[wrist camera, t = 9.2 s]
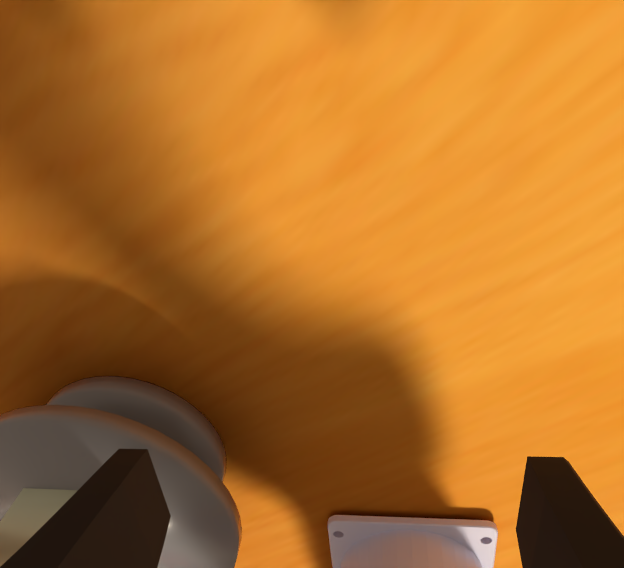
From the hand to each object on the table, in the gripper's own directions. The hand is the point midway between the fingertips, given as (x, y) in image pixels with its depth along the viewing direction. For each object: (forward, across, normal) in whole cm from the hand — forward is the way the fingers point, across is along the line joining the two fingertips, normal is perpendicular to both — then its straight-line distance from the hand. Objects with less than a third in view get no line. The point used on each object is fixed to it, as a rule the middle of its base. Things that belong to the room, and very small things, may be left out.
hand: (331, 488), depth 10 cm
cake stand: (+10, +11, +10) cm, 18 cm away
